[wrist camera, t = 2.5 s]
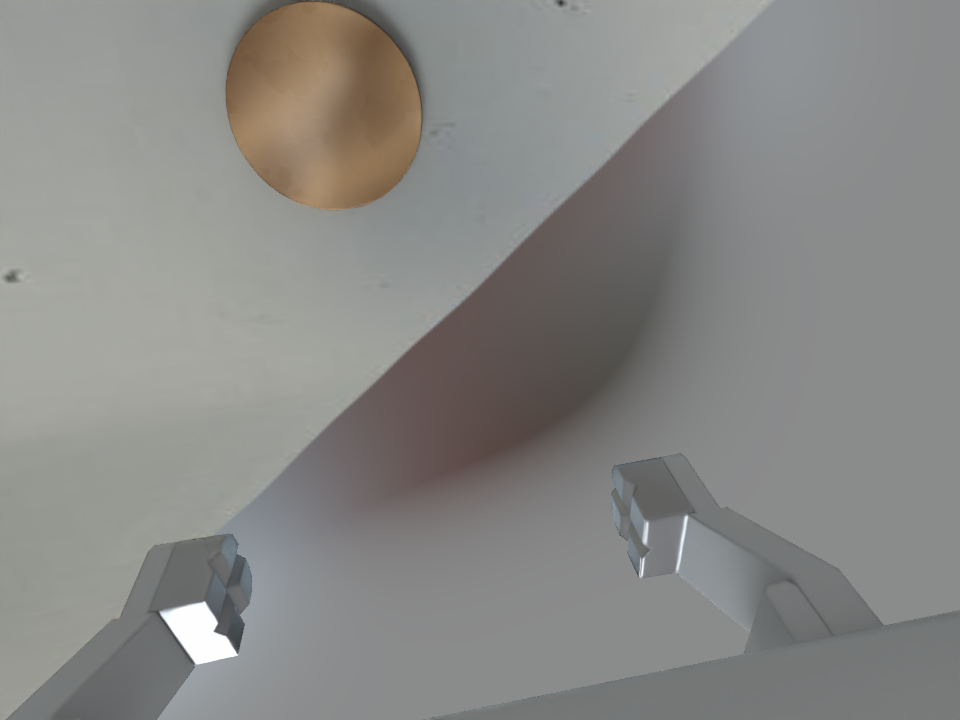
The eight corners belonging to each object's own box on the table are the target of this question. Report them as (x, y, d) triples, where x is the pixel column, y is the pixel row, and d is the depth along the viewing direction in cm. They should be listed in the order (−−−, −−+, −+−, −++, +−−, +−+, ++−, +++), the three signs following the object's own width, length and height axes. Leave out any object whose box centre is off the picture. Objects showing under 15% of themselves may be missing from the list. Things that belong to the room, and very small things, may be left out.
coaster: (202, 152, 30) (199, 154, 30) (268, -44, 27) (265, -46, 26) (375, 238, 33) (374, 241, 32) (454, 72, 30) (455, 72, 29)
